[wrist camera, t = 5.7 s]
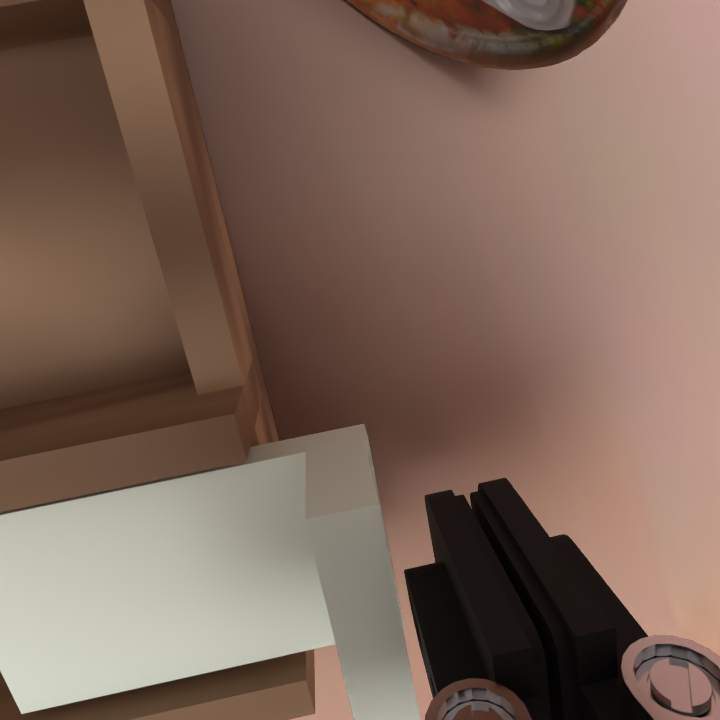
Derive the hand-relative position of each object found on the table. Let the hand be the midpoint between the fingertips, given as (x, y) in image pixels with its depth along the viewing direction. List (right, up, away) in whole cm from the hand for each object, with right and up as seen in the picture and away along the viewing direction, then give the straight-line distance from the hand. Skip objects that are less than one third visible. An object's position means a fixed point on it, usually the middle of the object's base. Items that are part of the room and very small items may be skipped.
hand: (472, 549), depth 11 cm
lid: (-6, -1, +1) cm, 6 cm away
